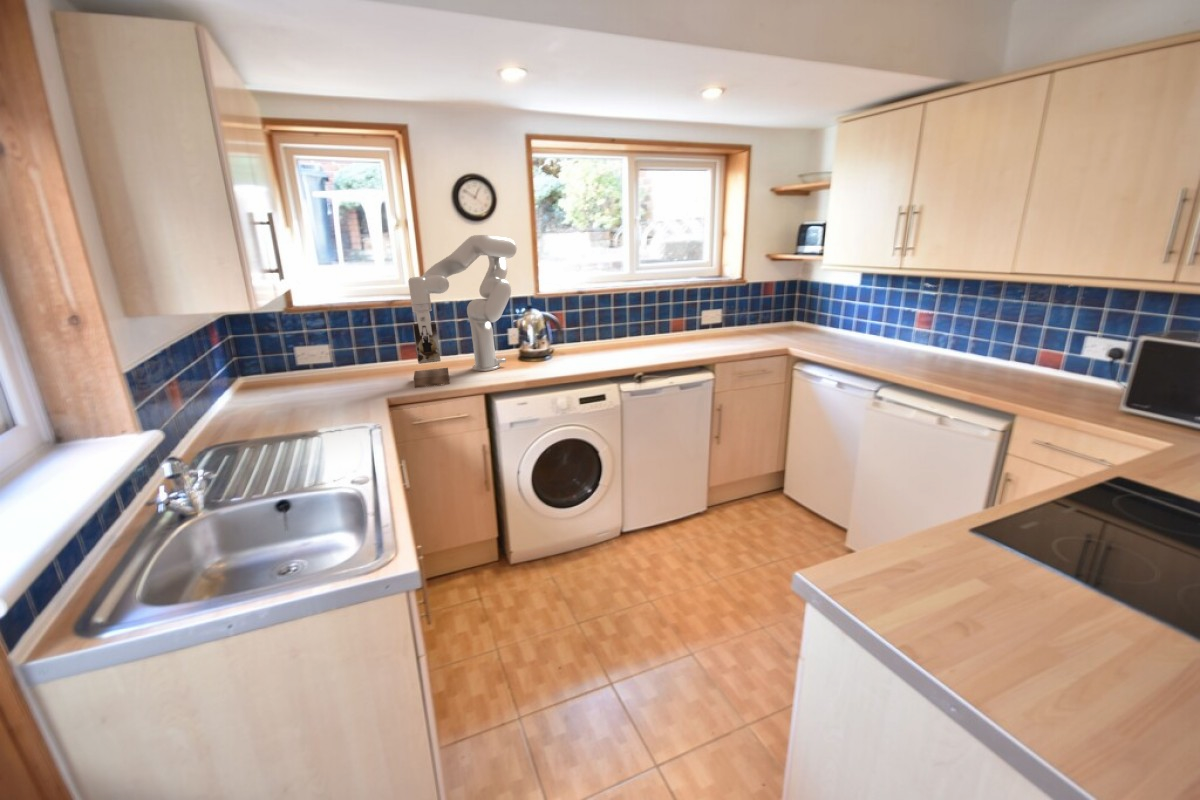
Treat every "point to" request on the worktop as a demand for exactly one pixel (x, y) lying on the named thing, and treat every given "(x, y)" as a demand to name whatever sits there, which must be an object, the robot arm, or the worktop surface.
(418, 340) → the coffee box
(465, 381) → the worktop surface
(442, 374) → the walnut plinth
